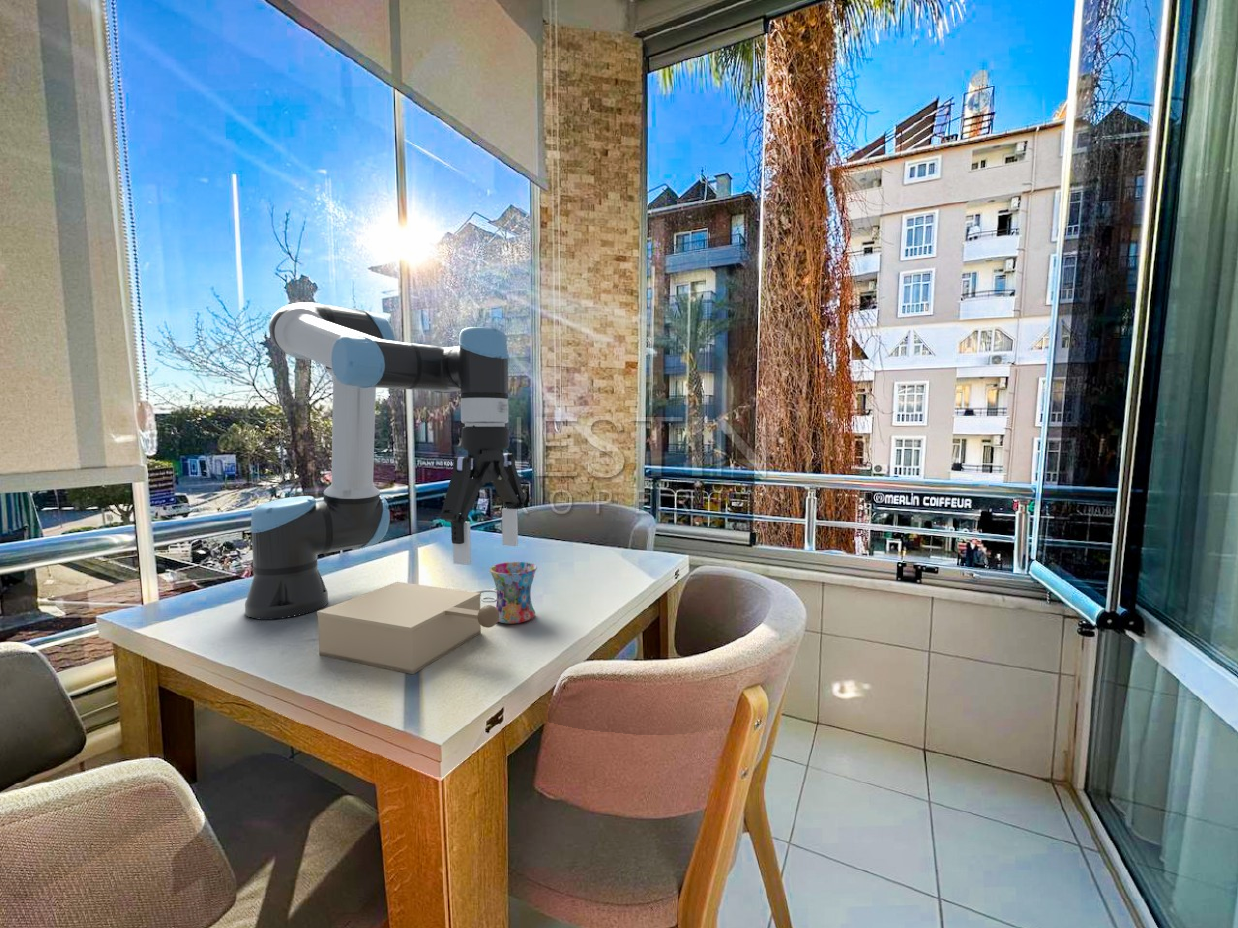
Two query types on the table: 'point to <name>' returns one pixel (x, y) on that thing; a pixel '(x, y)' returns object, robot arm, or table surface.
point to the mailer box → (396, 641)
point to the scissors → (487, 597)
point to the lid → (409, 607)
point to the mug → (514, 591)
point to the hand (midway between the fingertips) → (487, 553)
